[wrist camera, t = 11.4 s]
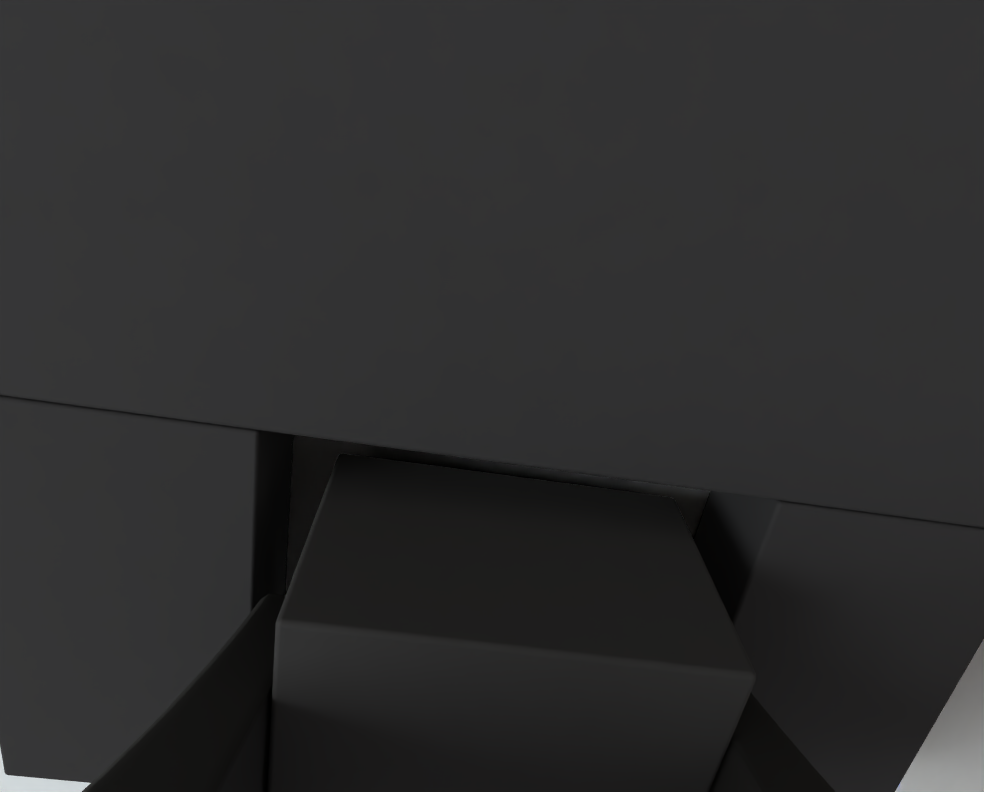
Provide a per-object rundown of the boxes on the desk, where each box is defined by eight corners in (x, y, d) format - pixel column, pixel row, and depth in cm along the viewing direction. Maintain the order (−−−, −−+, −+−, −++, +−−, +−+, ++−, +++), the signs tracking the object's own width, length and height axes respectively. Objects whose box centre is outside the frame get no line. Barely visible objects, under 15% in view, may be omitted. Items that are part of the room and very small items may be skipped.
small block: (600, 733, 13) (642, 957, 9) (316, 704, 12) (258, 927, 9) (675, 495, 11) (760, 677, 7) (338, 451, 10) (273, 622, 7)
